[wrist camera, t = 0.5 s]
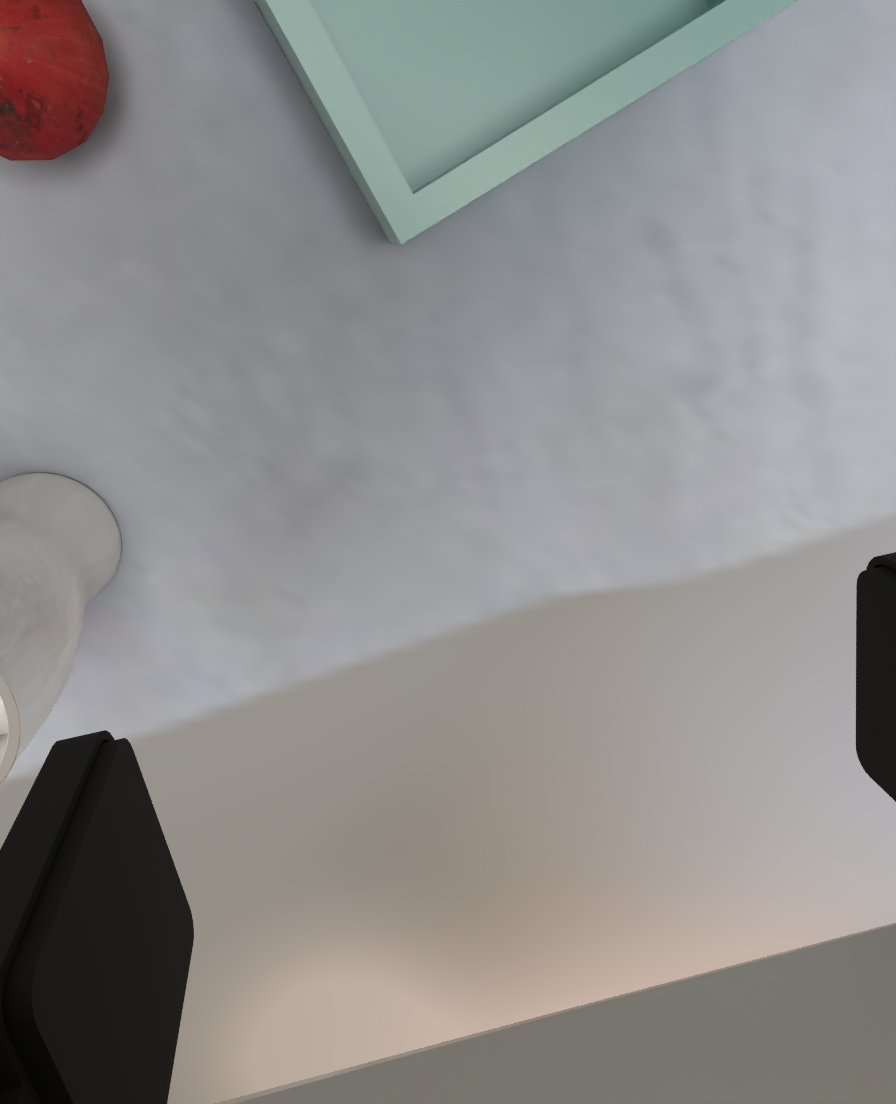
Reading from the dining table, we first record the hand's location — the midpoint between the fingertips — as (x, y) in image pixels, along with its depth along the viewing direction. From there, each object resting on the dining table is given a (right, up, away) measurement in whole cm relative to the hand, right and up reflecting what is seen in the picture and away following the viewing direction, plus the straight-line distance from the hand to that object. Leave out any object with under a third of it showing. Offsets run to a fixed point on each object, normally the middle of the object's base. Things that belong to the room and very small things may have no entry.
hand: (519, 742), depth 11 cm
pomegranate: (-16, +20, +21) cm, 32 cm away
